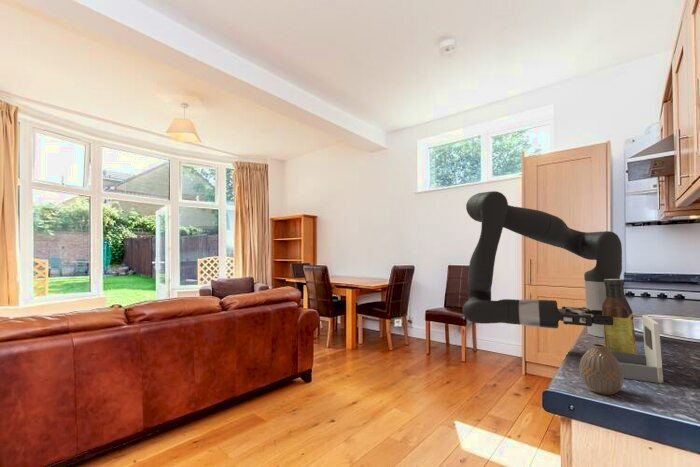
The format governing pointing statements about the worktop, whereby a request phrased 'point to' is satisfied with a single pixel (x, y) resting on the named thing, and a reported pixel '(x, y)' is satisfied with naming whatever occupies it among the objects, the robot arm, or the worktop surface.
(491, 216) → the robot arm
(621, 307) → the sauce bottle
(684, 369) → the worktop surface
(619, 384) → the vase
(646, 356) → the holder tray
